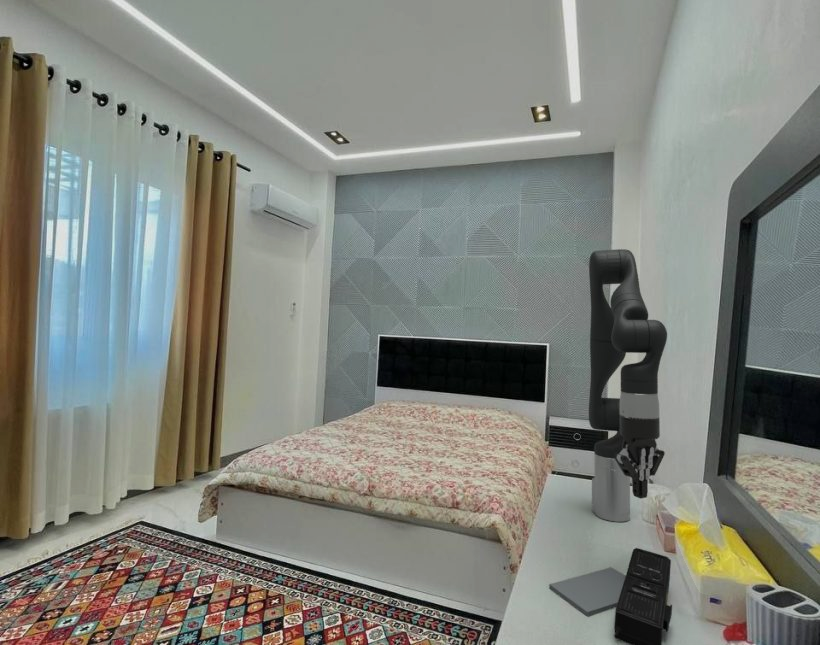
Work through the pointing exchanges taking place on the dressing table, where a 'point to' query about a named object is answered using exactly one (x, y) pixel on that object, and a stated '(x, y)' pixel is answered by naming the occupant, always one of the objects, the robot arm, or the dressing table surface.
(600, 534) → the dressing table surface
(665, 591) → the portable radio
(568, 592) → the charcoal pad
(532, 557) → the dressing table surface
